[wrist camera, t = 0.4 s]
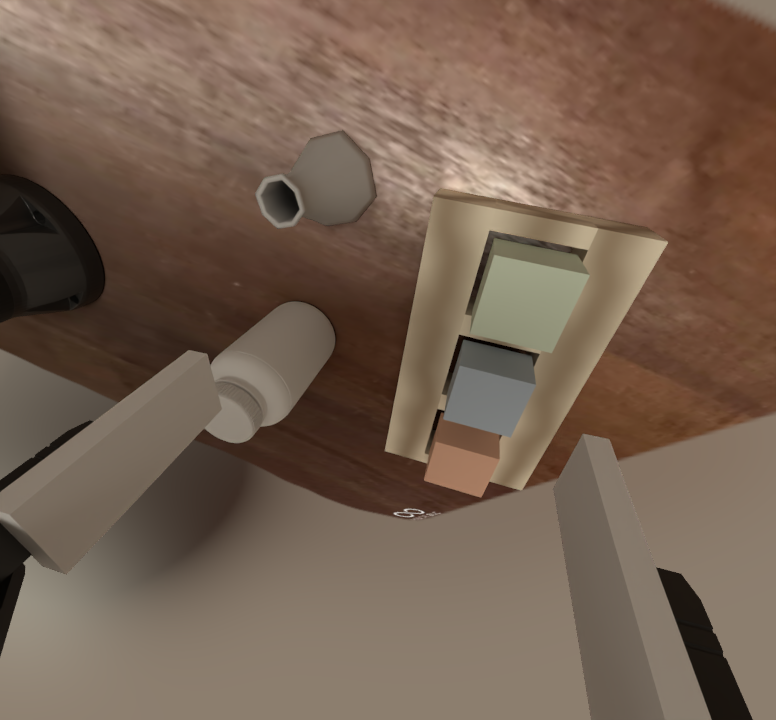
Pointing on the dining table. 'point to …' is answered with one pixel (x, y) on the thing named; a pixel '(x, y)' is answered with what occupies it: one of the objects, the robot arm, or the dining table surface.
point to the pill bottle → (269, 369)
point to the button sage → (527, 294)
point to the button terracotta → (462, 457)
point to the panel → (552, 370)
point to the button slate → (489, 388)
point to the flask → (320, 185)
